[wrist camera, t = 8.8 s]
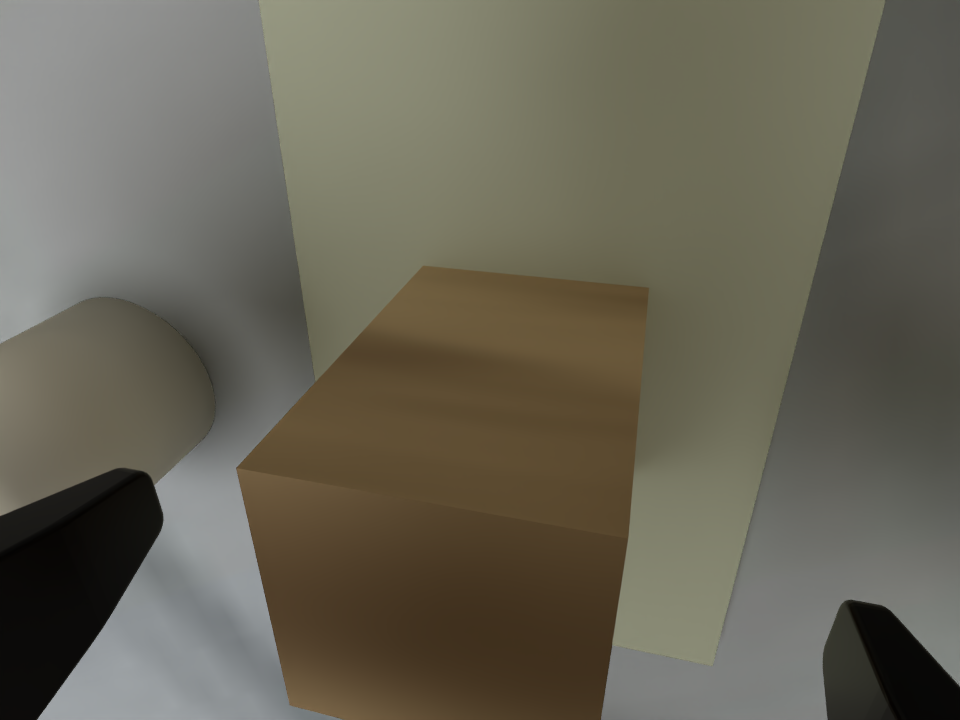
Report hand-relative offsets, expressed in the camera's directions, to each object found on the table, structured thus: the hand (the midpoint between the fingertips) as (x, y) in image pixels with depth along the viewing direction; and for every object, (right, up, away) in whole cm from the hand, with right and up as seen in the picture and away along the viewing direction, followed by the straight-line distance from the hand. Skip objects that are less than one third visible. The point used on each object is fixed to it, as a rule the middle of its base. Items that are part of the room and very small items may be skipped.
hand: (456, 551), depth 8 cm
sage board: (+1, +3, +5) cm, 6 cm away
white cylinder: (-8, +2, +8) cm, 12 cm away
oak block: (+1, +2, +4) cm, 5 cm away
